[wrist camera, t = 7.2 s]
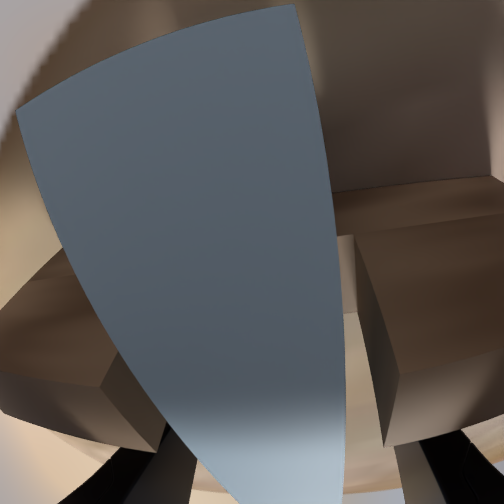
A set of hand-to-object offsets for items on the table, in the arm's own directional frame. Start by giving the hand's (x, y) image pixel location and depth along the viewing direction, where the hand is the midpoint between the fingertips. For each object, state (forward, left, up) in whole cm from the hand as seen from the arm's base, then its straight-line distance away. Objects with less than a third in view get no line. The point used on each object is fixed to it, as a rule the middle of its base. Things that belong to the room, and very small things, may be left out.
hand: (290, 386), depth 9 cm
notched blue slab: (0, -3, -2) cm, 4 cm away
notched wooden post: (0, -4, -2) cm, 4 cm away
